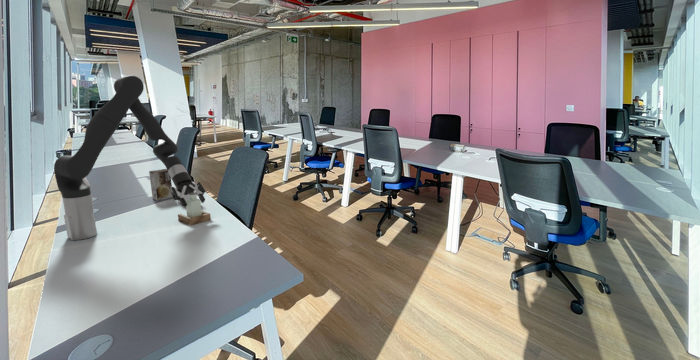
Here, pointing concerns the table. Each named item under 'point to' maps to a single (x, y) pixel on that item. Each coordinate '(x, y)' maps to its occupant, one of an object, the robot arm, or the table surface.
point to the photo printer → (186, 195)
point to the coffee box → (160, 184)
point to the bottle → (193, 206)
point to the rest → (194, 218)
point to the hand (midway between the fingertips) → (194, 203)
